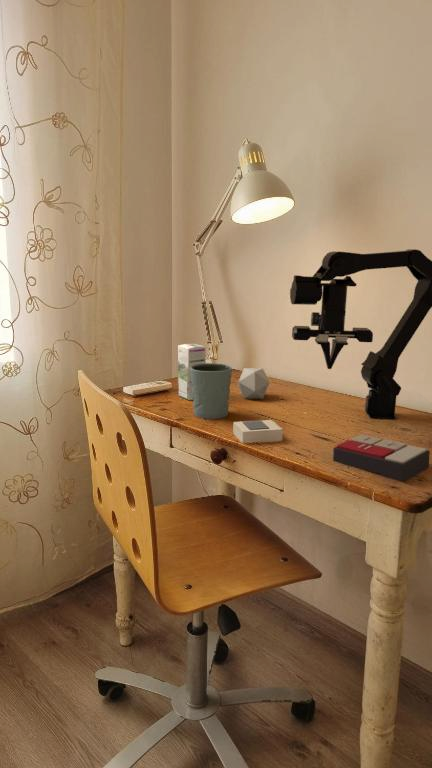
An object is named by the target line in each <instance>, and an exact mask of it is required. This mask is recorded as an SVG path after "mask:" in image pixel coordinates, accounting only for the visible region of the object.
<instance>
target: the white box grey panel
mask: <svg viewBox="0 0 432 768" xmlns="http://www.w3.org/2000/svg"><path fill="white" fill-rule="evenodd" d="M232 428H233V429H232V430H233V431H232V434H233V435H234V436H235V437H236V438H237V439H238V441H239V442H240V443H241V442H242V443H243V444H252V443H253V442H255V443H253V444H257V443H256V442H258V443H270V442H272V443H273V442H282V441H283V428H282V427H281V426H279V425H278V424H277V423H276V422H275V421H274V420H272V419H267V420H266V419H265V420H247V421H246V420H245V421H244V420H243V421H233V425H232ZM242 443H241V444H242Z"/></svg>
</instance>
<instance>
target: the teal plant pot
mask: <svg viewBox="0 0 432 768" xmlns="http://www.w3.org/2000/svg"><path fill="white" fill-rule="evenodd" d="M190 370H191V381H192V386H193V389H192V391H193V392H192V393H193V399H194V400H192V401H193V405H192V407H193V414H194V416H196V417H197V418H201V419H208V420H215V419H217V420H218V419H221V418H222V419H223V418H225V417H227V416H228V414H229V406H230V402H229V400H230V394H231V393H230V392H231V389H230V387H231V384H232V381H231V380H232V372H233V367H232V365H229V364H225V363H217V362H207V363H206V362H205V363H202V364H196V365H193V366H191V368H190Z"/></svg>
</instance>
